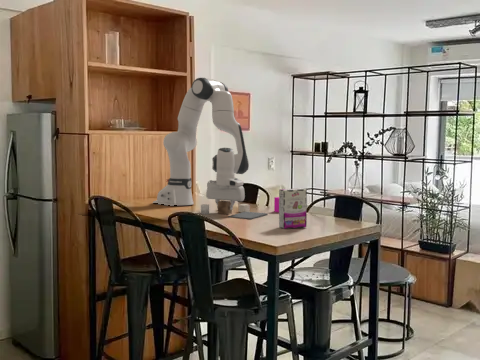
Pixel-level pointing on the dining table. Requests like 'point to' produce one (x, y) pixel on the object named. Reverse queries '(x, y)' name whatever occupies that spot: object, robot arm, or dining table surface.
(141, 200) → the dining table surface
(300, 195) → the candy bar box
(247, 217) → the mat
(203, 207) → the grey cylinder
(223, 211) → the walnut block
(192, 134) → the robot arm
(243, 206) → the cream cube
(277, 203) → the toy block
